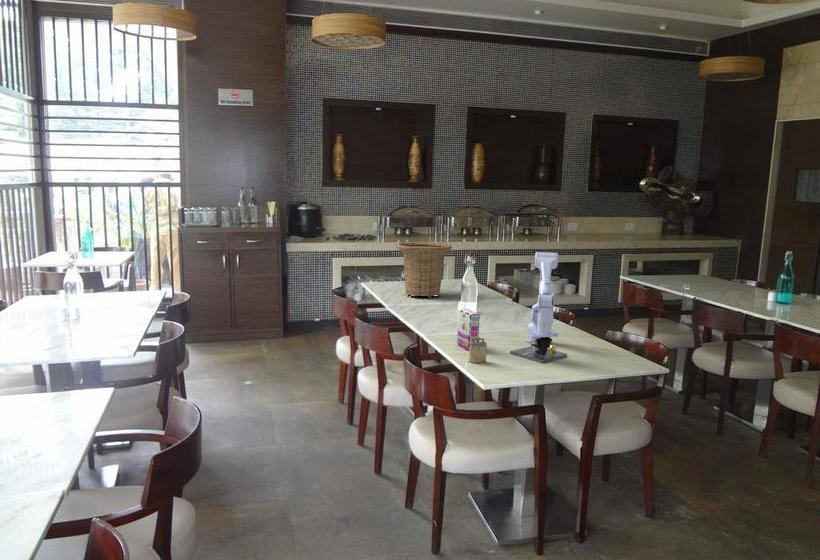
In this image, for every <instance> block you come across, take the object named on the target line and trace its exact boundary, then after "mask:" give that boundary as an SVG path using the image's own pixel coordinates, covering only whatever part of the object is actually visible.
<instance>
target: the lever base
mask: <svg viewBox="0 0 820 560" xmlns="http://www.w3.org/2000/svg"><path fill="white" fill-rule="evenodd" d="M509 352H510V353H509V354H510V355H512V354H513V355H512V356H516V355H517V356H516V357H519V356H520V358H524V359H526V358H527V359H526V360H531V361H534V362H538V363H541V364H544V363H547V362H551V361H555V359H556V360H558V359H562V358H565V357H566V358H567V357H568V354H567V353H566V352H562V351H560V350H559V351H558V350H556V354H550V348H548V349H547V352H546V355H540V352H539V347H534V346H531V345H530V346H526V347H522V348H518V349H513V350H510V351H509Z"/></svg>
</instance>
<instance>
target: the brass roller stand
mask: <svg viewBox="0 0 820 560" xmlns="http://www.w3.org/2000/svg"><path fill="white" fill-rule="evenodd" d="M530 346H534V347H538V344H537V342H536V340H533V341H531V342H530ZM548 349H550V354H556V351H557V345H556V344H550V345H549V347H548Z"/></svg>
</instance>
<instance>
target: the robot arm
mask: <svg viewBox="0 0 820 560" xmlns="http://www.w3.org/2000/svg"><path fill="white" fill-rule="evenodd" d="M558 264H559V254H558V252H544V251H543V252H542V251H541V252H538V251H536V252H535V255H534V266H535V268H537V269H539V284H538V287H539V289H538V296H537V303H535V304H533V305H532V306H531V314H530V315H531V316H530V323H528V327H527V336H526V340H525V341H526V342H528V343H531V341H533V340H536V342H537V344H538V347H539V352H540V355H546V352H547V349H549V348H548V347H549V345H551V344H553V338H551V337H555V338H557V337H559V331H556V330H552V327H553V326H552V324H553V322H554V308H555V294H554V283H553V281H552V280H551V278H552V277H551V276H552V270H555V269H557V267H558Z"/></svg>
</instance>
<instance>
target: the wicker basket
mask: <svg viewBox="0 0 820 560" xmlns="http://www.w3.org/2000/svg"><path fill="white" fill-rule="evenodd" d="M452 248H453V246H452V245H451V244H448V243H443V242H431V241H429V242H427V241H405V242H404V241H403V242H398V243H397V244H396V249H398V250H400V251H401V253H402V257H403V267H404V268H403V269H404V281H405V282H404V283H405V284H404V285H405V295H406V294H408V295H414V297H415V296H434V295H438V294H439V293H440V292H441V286H442V279H443V269H444V263H445V262H444V261H445V256H446V254H447V252H449V251H451V250H452ZM439 295H440V294H439Z"/></svg>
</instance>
